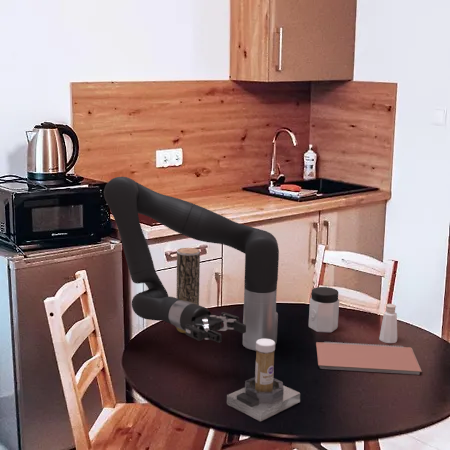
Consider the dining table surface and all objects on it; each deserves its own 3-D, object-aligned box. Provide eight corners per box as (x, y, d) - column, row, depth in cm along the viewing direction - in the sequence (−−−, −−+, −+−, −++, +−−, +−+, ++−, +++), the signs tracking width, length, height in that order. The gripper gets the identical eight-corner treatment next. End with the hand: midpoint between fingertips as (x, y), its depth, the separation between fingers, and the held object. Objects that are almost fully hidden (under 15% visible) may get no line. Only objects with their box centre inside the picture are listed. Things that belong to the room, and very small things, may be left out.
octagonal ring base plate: (266, 386, 178) (266, 369, 177) (299, 402, 170) (300, 383, 169) (226, 404, 168) (227, 385, 167) (260, 421, 161) (261, 402, 159)
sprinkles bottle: (267, 400, 166) (269, 346, 163) (250, 395, 168) (252, 342, 165) (276, 392, 170) (278, 340, 166) (259, 387, 172) (261, 336, 169)
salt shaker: (399, 343, 207) (402, 308, 204) (380, 343, 207) (383, 307, 204) (395, 336, 212) (398, 302, 210) (377, 336, 212) (379, 301, 210)
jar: (303, 324, 220) (305, 288, 217) (325, 320, 224) (327, 285, 221) (320, 334, 212) (322, 297, 209) (342, 330, 216) (344, 293, 213)
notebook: (410, 351, 203) (411, 345, 202) (421, 377, 187) (421, 370, 186) (315, 346, 205) (316, 339, 205) (318, 371, 189) (318, 364, 188)
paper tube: (200, 326, 216) (201, 248, 211) (197, 335, 210) (198, 254, 204) (178, 325, 217) (178, 247, 211) (174, 333, 210) (175, 253, 205)
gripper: (168, 310, 180) (212, 327, 169) (209, 297, 190) (253, 312, 178) (169, 337, 182) (212, 356, 170) (209, 323, 191) (252, 340, 180)
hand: (233, 333), depth 174 cm, fingers open, 8 cm apart
